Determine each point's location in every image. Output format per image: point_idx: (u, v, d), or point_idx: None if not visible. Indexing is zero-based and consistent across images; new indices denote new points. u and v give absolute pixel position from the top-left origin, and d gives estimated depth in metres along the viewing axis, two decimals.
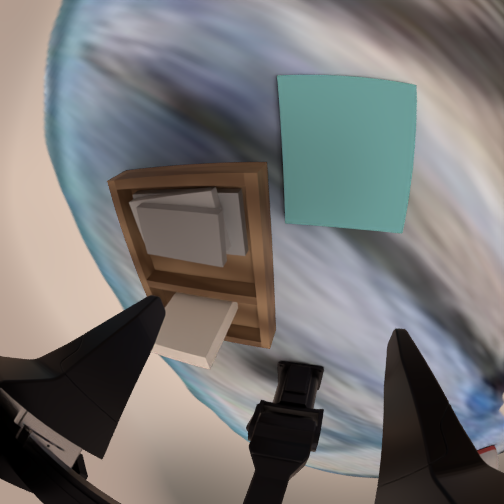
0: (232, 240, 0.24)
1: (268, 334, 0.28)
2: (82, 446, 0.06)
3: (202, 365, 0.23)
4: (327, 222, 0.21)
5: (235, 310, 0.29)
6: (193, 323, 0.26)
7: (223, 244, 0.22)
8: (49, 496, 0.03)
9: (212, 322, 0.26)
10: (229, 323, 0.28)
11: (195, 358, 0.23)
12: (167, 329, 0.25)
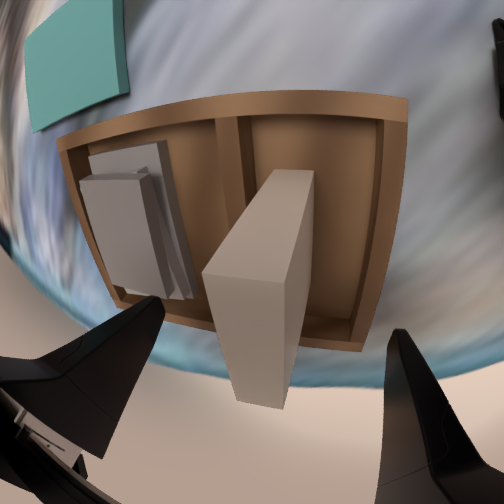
0: (138, 163, 0.14)
1: (344, 93, 0.09)
2: (82, 446, 0.06)
3: (267, 302, 0.06)
4: (109, 46, 0.11)
5: (305, 174, 0.12)
6: None
7: (118, 176, 0.13)
8: (49, 496, 0.03)
9: None
10: (299, 189, 0.11)
11: (228, 308, 0.07)
12: None
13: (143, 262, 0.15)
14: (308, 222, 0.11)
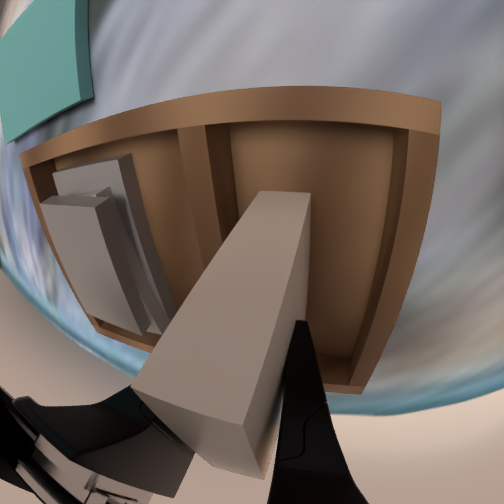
0: (101, 183, 0.11)
1: (353, 90, 0.06)
2: (158, 492, 0.05)
3: (223, 431, 0.04)
4: (70, 46, 0.08)
5: (299, 199, 0.09)
6: None
7: (76, 200, 0.10)
8: None
9: None
10: (289, 226, 0.08)
11: (176, 421, 0.04)
12: None
13: (112, 297, 0.13)
14: (300, 269, 0.08)
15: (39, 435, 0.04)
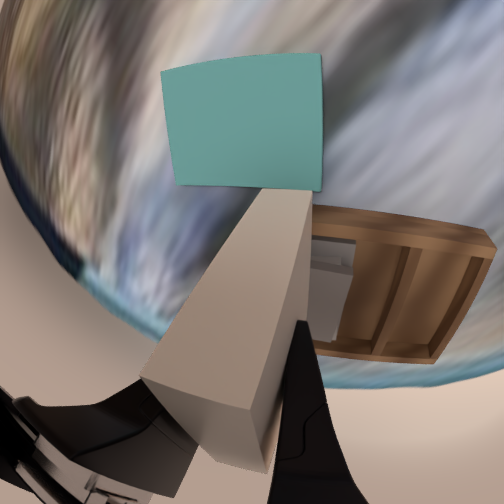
0: (334, 253, 0.20)
1: (473, 245, 0.15)
2: (158, 492, 0.05)
3: (229, 418, 0.04)
4: (316, 144, 0.17)
5: (301, 196, 0.10)
6: None
7: (327, 266, 0.19)
8: None
9: None
10: (291, 222, 0.08)
11: (183, 410, 0.04)
12: None
13: (325, 321, 0.22)
14: (302, 264, 0.09)
15: (39, 435, 0.04)
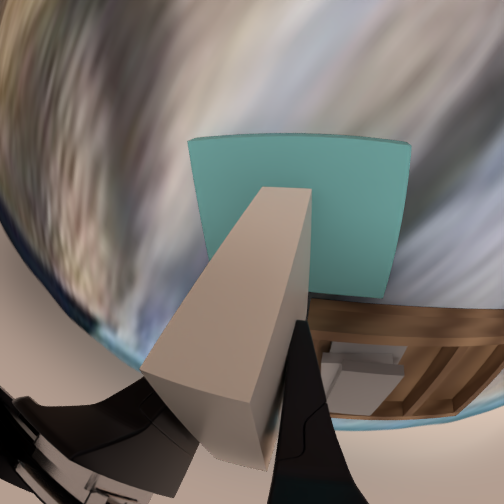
0: (386, 351, 0.18)
1: None
2: (158, 492, 0.05)
3: (229, 412, 0.04)
4: (388, 254, 0.14)
5: (300, 194, 0.10)
6: None
7: (380, 368, 0.17)
8: None
9: None
10: (290, 219, 0.08)
11: (183, 405, 0.05)
12: None
13: (369, 403, 0.19)
14: (302, 261, 0.09)
15: (39, 435, 0.04)
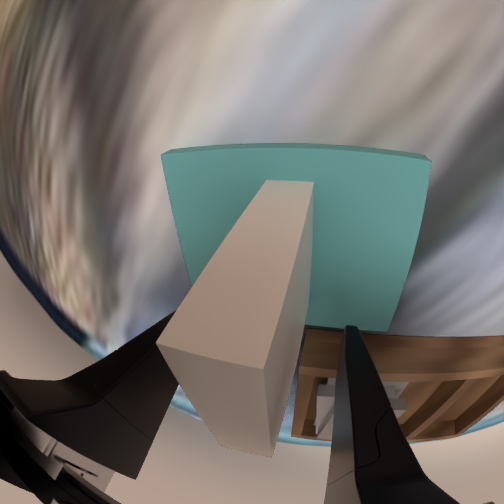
0: (388, 383, 0.15)
1: None
2: (117, 469, 0.06)
3: (242, 383, 0.04)
4: (396, 287, 0.12)
5: (303, 187, 0.10)
6: None
7: None
8: (49, 496, 0.03)
9: None
10: (295, 209, 0.09)
11: (196, 380, 0.05)
12: None
13: None
14: (305, 249, 0.09)
15: (14, 407, 0.04)
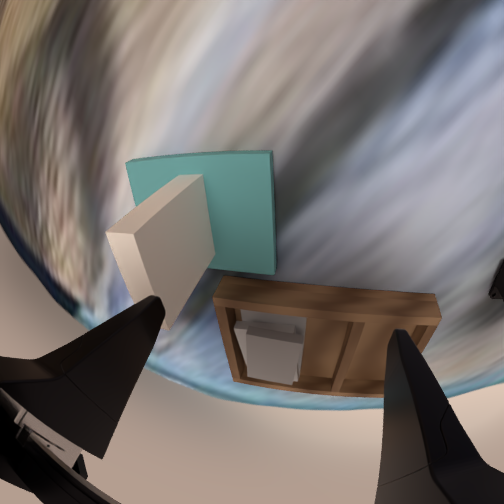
0: (289, 322, 0.24)
1: (416, 317, 0.19)
2: (82, 446, 0.06)
3: (130, 245, 0.13)
4: (268, 238, 0.20)
5: (194, 177, 0.18)
6: None
7: (281, 335, 0.23)
8: (49, 496, 0.03)
9: None
10: (180, 188, 0.17)
11: (118, 250, 0.13)
12: None
13: (284, 371, 0.25)
14: (187, 208, 0.17)
15: None
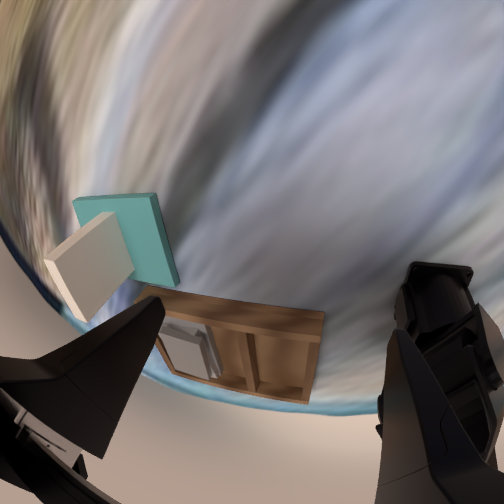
0: (193, 326, 0.28)
1: (292, 332, 0.23)
2: (82, 446, 0.06)
3: (54, 267, 0.18)
4: (163, 259, 0.25)
5: (108, 215, 0.23)
6: None
7: (184, 336, 0.28)
8: (49, 496, 0.03)
9: None
10: (94, 225, 0.22)
11: (51, 270, 0.18)
12: None
13: (198, 367, 0.30)
14: (99, 239, 0.22)
15: None
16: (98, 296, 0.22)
